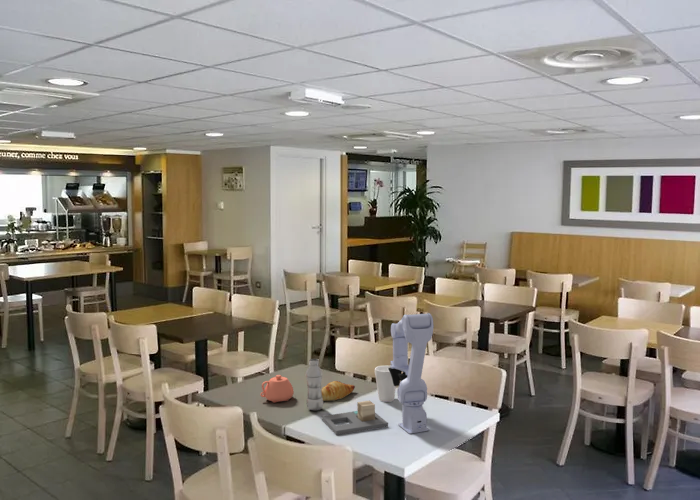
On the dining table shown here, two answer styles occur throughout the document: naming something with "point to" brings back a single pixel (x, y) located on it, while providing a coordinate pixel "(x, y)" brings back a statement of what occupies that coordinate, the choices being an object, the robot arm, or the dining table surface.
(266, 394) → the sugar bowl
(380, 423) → the socket panel
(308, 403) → the plastic bottle
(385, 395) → the foam cup
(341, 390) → the croissant
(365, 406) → the plug
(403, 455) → the dining table surface
